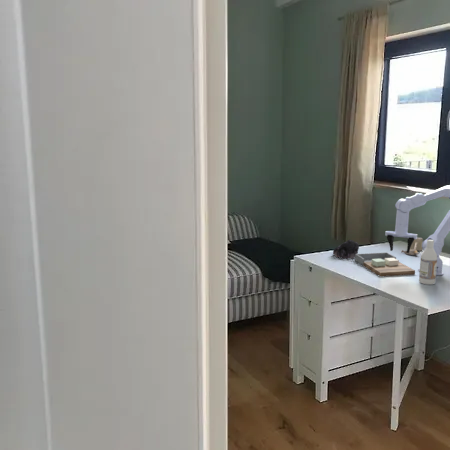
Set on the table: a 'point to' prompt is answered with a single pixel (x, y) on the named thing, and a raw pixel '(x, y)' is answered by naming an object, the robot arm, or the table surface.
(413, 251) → the decorative sculpture
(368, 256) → the box
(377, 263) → the sage tile
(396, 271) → the walnut plate
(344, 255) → the crystal cluster
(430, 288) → the table surface
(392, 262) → the cream tile
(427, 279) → the bath foam
